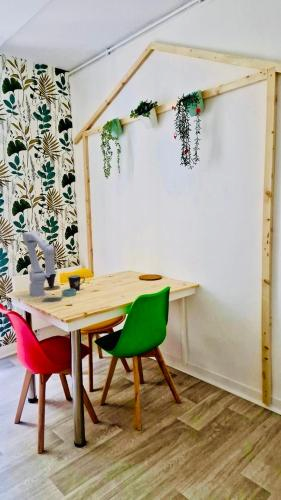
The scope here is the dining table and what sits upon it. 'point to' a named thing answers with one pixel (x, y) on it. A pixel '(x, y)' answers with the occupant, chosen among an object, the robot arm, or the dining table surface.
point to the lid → (52, 287)
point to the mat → (52, 299)
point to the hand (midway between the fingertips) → (51, 285)
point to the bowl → (68, 292)
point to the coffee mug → (75, 282)
